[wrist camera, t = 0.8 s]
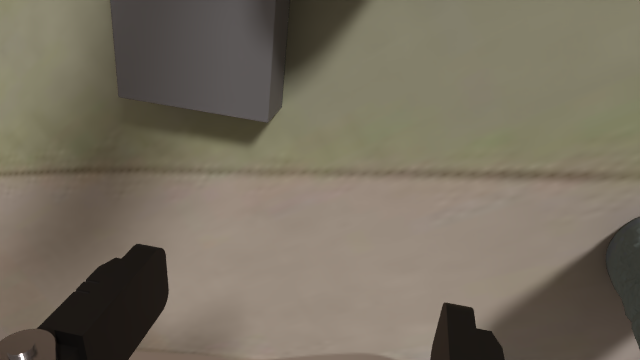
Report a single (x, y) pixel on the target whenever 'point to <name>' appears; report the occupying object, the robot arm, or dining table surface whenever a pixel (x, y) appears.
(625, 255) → the blue gray cup
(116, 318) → the robot arm
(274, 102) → the slate base
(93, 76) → the dining table surface
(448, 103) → the dining table surface
